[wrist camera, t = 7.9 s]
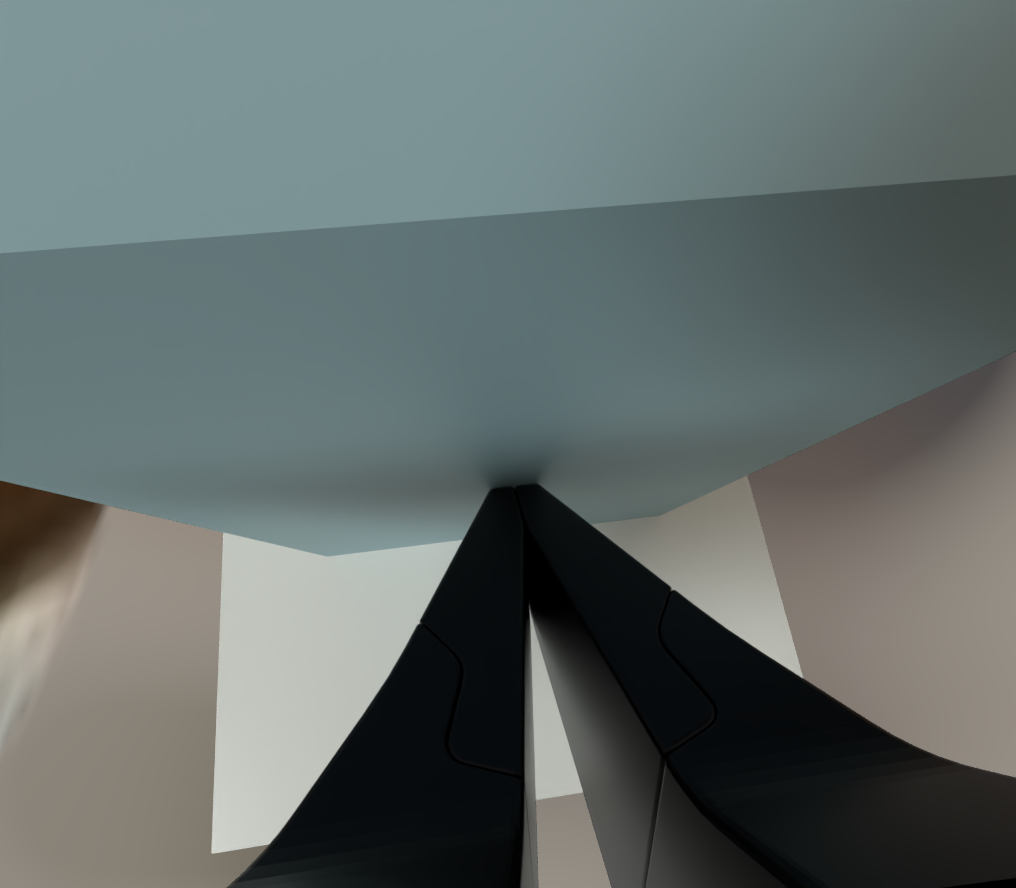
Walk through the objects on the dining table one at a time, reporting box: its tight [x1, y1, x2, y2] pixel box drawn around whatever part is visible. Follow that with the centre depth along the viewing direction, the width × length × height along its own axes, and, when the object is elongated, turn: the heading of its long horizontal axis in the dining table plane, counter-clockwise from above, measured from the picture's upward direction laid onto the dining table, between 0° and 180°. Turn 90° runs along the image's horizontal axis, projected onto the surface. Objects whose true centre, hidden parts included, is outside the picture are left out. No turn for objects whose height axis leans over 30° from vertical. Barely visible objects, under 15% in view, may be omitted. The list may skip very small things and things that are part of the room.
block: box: [0, 0, 1016, 557], centre depth 10 cm, size 9×10×13 cm
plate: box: [212, 475, 803, 853], centre depth 15 cm, size 16×16×1 cm
